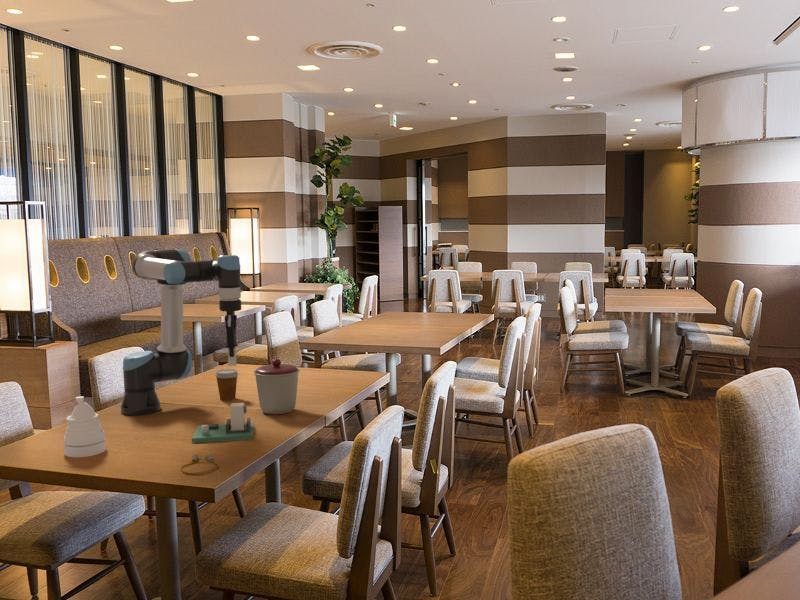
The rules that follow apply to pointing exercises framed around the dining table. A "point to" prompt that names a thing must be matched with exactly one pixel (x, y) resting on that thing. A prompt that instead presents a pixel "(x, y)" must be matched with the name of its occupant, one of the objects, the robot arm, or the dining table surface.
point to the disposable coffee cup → (227, 384)
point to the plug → (237, 416)
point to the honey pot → (83, 432)
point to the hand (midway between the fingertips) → (232, 365)
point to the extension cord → (195, 458)
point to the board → (222, 432)
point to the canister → (277, 387)
